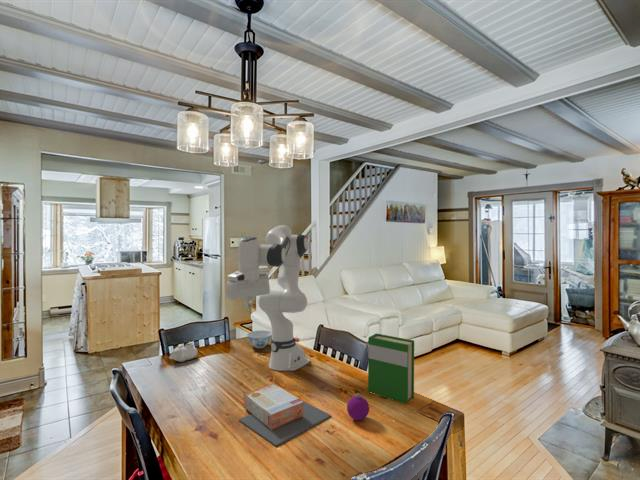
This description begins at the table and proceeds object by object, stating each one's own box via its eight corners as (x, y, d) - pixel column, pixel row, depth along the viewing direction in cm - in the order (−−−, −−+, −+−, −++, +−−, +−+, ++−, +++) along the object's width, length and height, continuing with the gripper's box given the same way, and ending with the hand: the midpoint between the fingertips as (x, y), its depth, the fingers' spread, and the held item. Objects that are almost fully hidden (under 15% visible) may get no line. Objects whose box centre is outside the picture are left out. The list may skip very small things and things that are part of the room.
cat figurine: (197, 339, 193) (171, 342, 182) (203, 349, 188) (176, 353, 177) (191, 352, 196) (165, 355, 185) (196, 362, 191) (170, 367, 180)
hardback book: (413, 397, 145) (414, 340, 144) (407, 404, 139) (407, 345, 138) (375, 386, 155) (376, 333, 155) (368, 392, 149) (368, 337, 149)
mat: (292, 397, 144) (292, 395, 144) (331, 416, 129) (331, 415, 129) (238, 420, 126) (238, 419, 126) (276, 447, 111) (276, 445, 111)
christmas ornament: (346, 412, 132) (346, 387, 132) (367, 413, 132) (367, 387, 131) (347, 424, 124) (347, 397, 124) (370, 425, 123) (370, 397, 123)
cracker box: (243, 408, 135) (271, 431, 118) (243, 392, 134) (271, 413, 118) (274, 397, 143) (304, 417, 127) (274, 382, 143) (303, 401, 127)
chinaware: (243, 349, 204) (243, 336, 204) (252, 342, 219) (252, 329, 219) (267, 351, 201) (267, 338, 201) (275, 343, 216) (275, 331, 216)
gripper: (264, 272, 157) (264, 302, 157) (223, 276, 142) (223, 309, 142) (272, 273, 152) (272, 304, 152) (231, 277, 138) (231, 312, 138)
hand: (248, 307), depth 147 cm, fingers closed
